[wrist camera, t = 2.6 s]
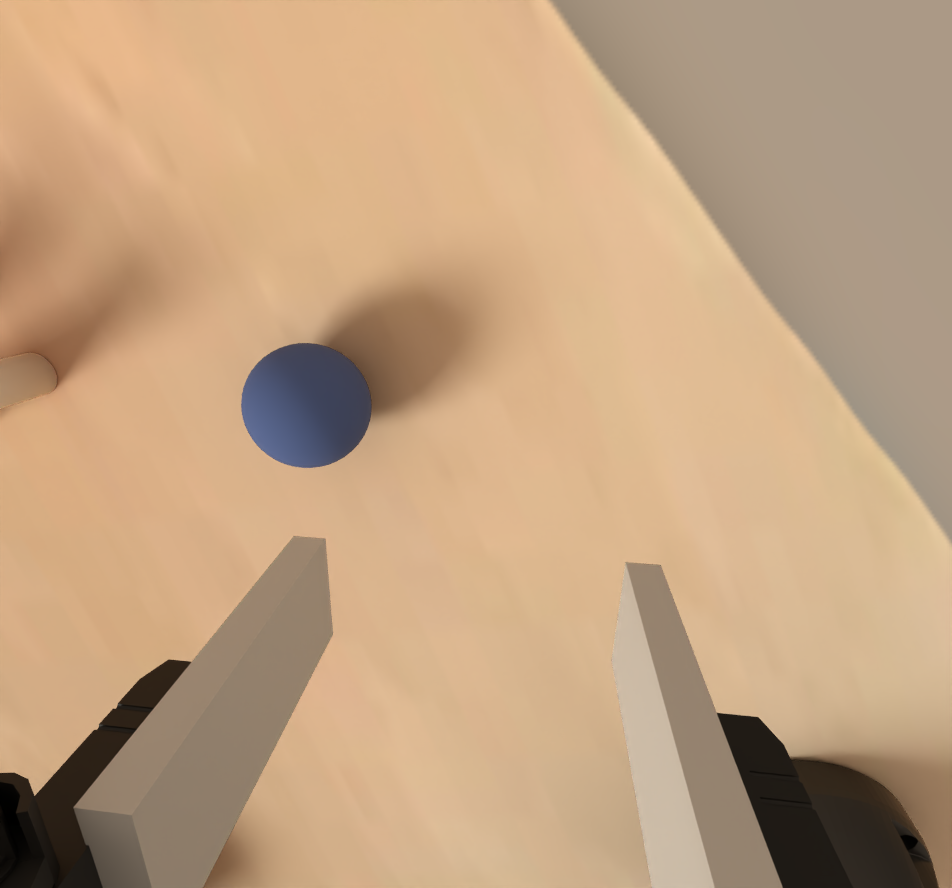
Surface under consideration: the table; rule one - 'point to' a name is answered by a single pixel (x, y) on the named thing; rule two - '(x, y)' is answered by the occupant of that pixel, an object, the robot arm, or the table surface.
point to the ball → (306, 405)
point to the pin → (25, 378)
